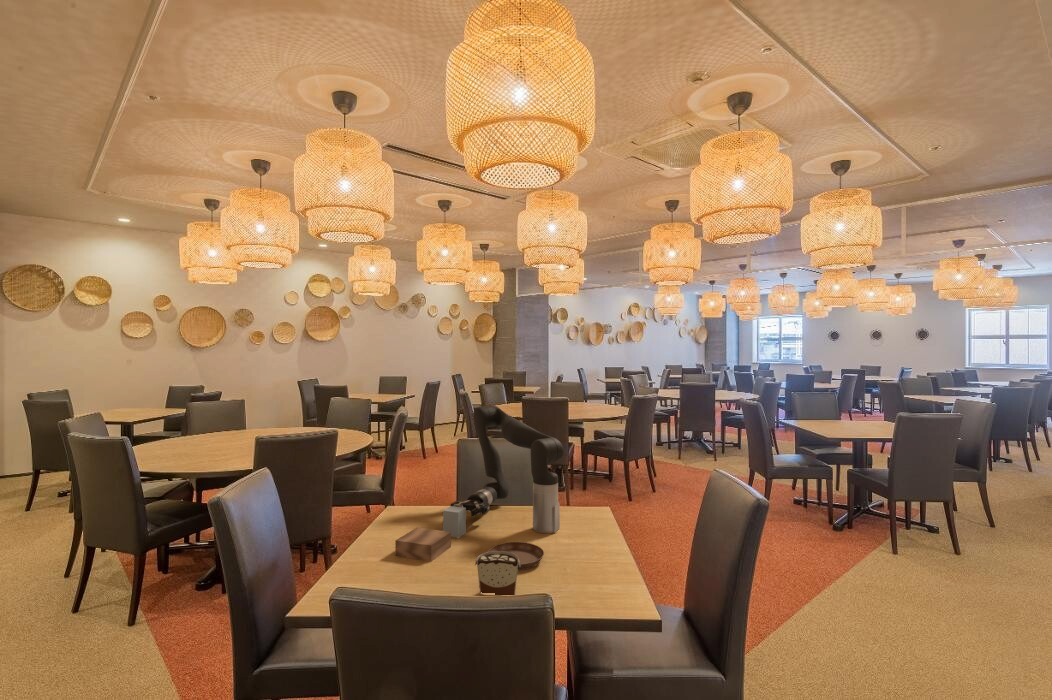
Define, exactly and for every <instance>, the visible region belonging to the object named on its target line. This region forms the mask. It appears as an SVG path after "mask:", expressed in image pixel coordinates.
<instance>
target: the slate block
mask: <svg viewBox="0 0 1052 700" xmlns="http://www.w3.org/2000/svg"><path fill="white" fill-rule="evenodd" d="M466 529H467V511H466V508H464V507H463V506H462V507H455V506H451V505H450V506H449V507H447V508H446V509H443V510H442V531H447V532H451V538H454V537H456V539H459V538H461V536H463V535H464V533H465V534H466V533H467V530H466Z"/></svg>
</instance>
